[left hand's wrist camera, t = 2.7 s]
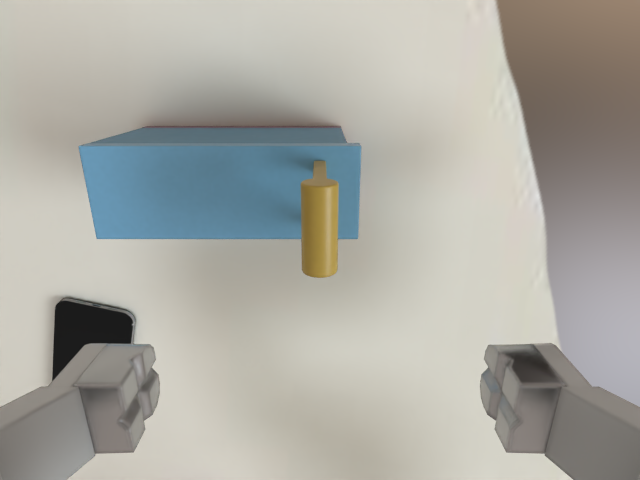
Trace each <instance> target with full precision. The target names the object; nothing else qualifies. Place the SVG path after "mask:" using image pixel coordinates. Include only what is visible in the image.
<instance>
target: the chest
mask: <svg viewBox="0 0 640 480" xmlns="http://www.w3.org/2000/svg"><path fill="white" fill-rule="evenodd" d="M91 143H347V142H346V139H345V137H344V134H343V132H342V129H341V126H147V127H143V128H141V129H137V130H134V131H130V132H126V133H123V134H119V135H116V136H112V137H109V138H105V139H102V140H98V141H95V142H91Z"/></svg>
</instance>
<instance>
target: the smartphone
mask: <svg viewBox="0 0 640 480" xmlns="http://www.w3.org/2000/svg"><path fill="white" fill-rule="evenodd" d="M134 328H135V318H134V316H133V315H132V314H131V313H130V312H128V311H126V310H122V309H117V308H112V307H108V306H103V305H98V304H94V303H89V302H84V301H79V300H75V299H70V298H66V299H63V300H61V301H60V302H59V303H58V304H57V305H56V307H55V326H54V352H53V378H52V381H53V380H54V379H55V378H56V377H57V376H58V375H59V373H60V372H61V371H62V370H63V369H64V368H65V367H66V365H67V364H68V363H69V362H70V361H71V360H72V359H73V358H74V356H75V355H76V354H77V353H78V352H79V351H80V350H81V349H82V347H83V346H84V345H87V344H95V343H107V344H133V337H134Z"/></svg>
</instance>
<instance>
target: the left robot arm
mask: <svg viewBox="0 0 640 480" xmlns="http://www.w3.org/2000/svg"><path fill="white" fill-rule="evenodd" d="M155 360H156V357H155V352H154V348H153V347H152V346H151V345H150V344H107V343H95V344H87V345H84V346H83V347H82V349H81V350H80V351H79V352H78V353H77V354H76V355H75V356H74V358H73V359H72V360H71V361H70V362H69V363H68V364H67V365H66V367H65V368H64V369H63V370H62V371H61V372H60V373H59V375H58V376H57V377H56V378H55V379H54V380H53V381H52V382H51V384H50V385H49V386H48V387H39V388H37V389H35V390H33V391H32V392H30V393H28V394H26V395H24V396H22V397H20V398H18V399H16V400H14V401H12V402H10V403H8V404H6V405H4V406H2V407H0V480H67V479H68V478H69V477H70V476H72V475H73V474H74V473H75V472H76V471H77V470H79V469H80V468H81V467H82V466H83V465H85V464H86V463H87V462H88V461H89V460H91V459H92V458H93V457H94V456H95V454H96V453H130V452H134V451H135V449H136V447H137V445H138V443H139V441H140V439H141V437H142V435H143V433H144V431H145V424H144V420H146V419H147V418H148V417H150V416H151V415H153V413H154V410H155V408H156V406H157V403H158V398H159V394H160V381H159V375H158V374H157V373H156V372H155V371H154V370H153V369H152V368H151V367H152V365H153V364H154V362H155ZM484 360H485V362H486V364H487V365H488V367H489V368H488V369H487V370H486V371H485V372H484V373H483V374H482V375H481V383H480V391H481V399H482V403H483V406H484V408H485V411H486V413H487V415H489V416H490V417H492V418H493V419H494V420H496V424H495V431H496V433H497V435H498V437H499V439H500V441H501V443H502V445H503V447H504V449H505V451H506V452H509V453H544V454H545V456H546V457H547V458H548V459H550V460H551V461H552V462H553V463H554V464H556V465H557V466H558V467H559V468H560V469H562V470H563V471H564V472H565V473H566V474H567V475H569V476H570V477H571V478H572V479H573V480H640V407H638V406H636V405H634V404H632V403H630V402H628V401H626V400H624V399H622V398H620V397H618V396H616V395H614V394H612V393H610V392H608V391H606V390H604V389H603V388H600V387H592V386H591V385H590V384H589V382H588V381H587V380H586V379H585V378H584V377H583V376H582V375H581V373H580V372H579V371H578V370H577V369H576V368H575V367H574V366H573V364H572V363H571V362H570V361H569V360H568V359H567V358H566V357H565V355H564V354H563V353H562V352H561V351H560V350H559V349H558V347H557V346H556V345H553V344H551V343H541V344H517V345H488V347H487V349H486V351H485V356H484Z"/></svg>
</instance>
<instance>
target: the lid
mask: <svg viewBox="0 0 640 480" xmlns="http://www.w3.org/2000/svg"><path fill="white" fill-rule="evenodd" d="M79 151H80V156H81V161H82V166H83V171H84V176H85V181H86V187H87V192H88V197H89V202H90V207H91V212H92V217H93V222H94V227H95V232H96V237H97V239H302V271H303V273H304V274H306V275H308V276H311V277H317V278H322V277H329V276H332V275H334V274H335V273H336V272H337V260H338V239H358V227H359V197H360V167H361V145H360V144H359V143H88V144H84V145H81V146H79Z"/></svg>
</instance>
